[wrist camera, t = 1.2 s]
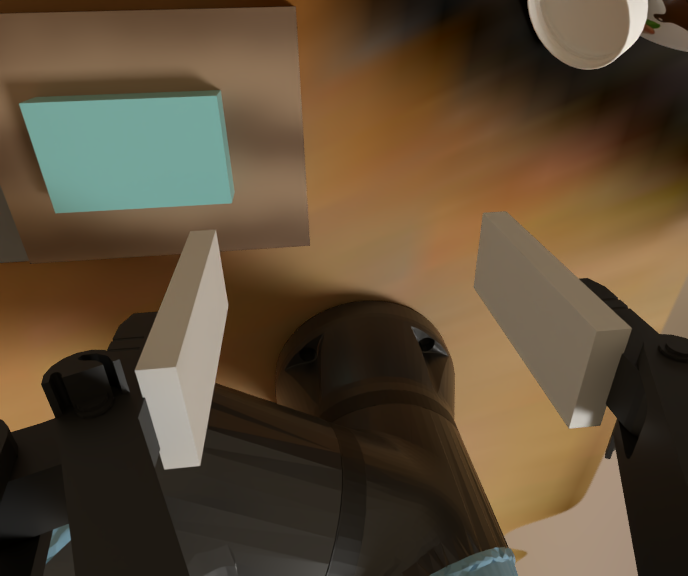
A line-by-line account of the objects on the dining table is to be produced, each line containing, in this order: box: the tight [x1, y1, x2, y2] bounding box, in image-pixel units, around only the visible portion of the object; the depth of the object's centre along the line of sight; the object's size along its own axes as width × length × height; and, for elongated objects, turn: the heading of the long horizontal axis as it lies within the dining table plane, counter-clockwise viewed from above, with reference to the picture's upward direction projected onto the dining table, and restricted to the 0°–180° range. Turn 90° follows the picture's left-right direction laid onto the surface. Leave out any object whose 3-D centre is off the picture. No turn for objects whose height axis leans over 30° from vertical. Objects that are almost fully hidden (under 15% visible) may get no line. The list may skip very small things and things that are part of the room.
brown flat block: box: [0, 6, 310, 264], centre depth 30 cm, size 14×18×3 cm
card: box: [19, 90, 235, 213], centre depth 28 cm, size 6×10×2 cm, turn 91°
